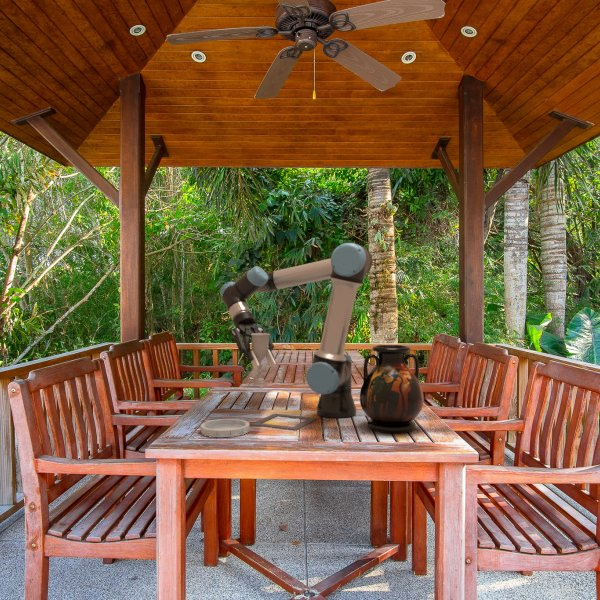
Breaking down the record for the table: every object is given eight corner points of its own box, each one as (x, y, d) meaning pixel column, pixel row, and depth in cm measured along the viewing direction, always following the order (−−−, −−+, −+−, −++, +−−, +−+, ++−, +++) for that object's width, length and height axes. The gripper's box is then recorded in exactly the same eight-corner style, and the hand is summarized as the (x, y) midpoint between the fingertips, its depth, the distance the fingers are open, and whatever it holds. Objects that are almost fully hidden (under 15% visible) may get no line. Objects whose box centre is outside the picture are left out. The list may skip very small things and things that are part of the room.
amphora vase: (366, 437, 165) (366, 350, 164) (354, 421, 186) (354, 343, 186) (432, 435, 166) (432, 349, 166) (413, 419, 188) (413, 343, 187)
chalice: (260, 387, 178) (261, 335, 177) (245, 385, 181) (246, 334, 181) (273, 384, 184) (274, 334, 183) (258, 381, 188) (259, 332, 187)
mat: (317, 419, 189) (317, 418, 189) (296, 430, 173) (295, 429, 173) (274, 414, 197) (274, 413, 197) (250, 425, 181) (250, 423, 181)
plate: (258, 428, 176) (258, 421, 176) (232, 440, 161) (232, 432, 161) (219, 423, 183) (219, 417, 183) (191, 434, 168) (191, 427, 168)
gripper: (259, 323, 200) (283, 370, 188) (215, 324, 188) (237, 375, 176) (267, 310, 196) (292, 358, 183) (223, 310, 184) (246, 362, 171)
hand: (265, 366), depth 180 cm, fingers closed on chalice, 6 cm apart
